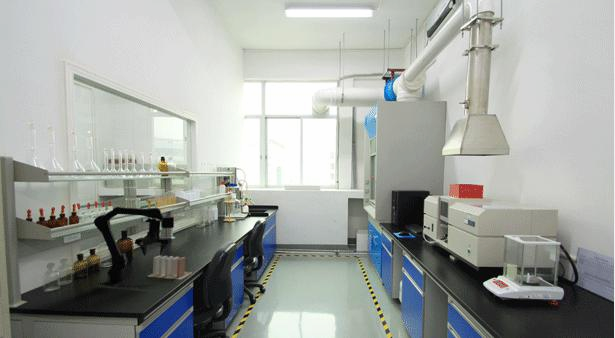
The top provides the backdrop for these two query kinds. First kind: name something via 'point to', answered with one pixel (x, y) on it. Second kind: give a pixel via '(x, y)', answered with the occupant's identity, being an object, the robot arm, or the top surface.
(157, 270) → the domino
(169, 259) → the domino
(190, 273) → the beige flat rectangular board
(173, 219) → the robot arm
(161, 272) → the domino
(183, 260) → the domino
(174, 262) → the domino
